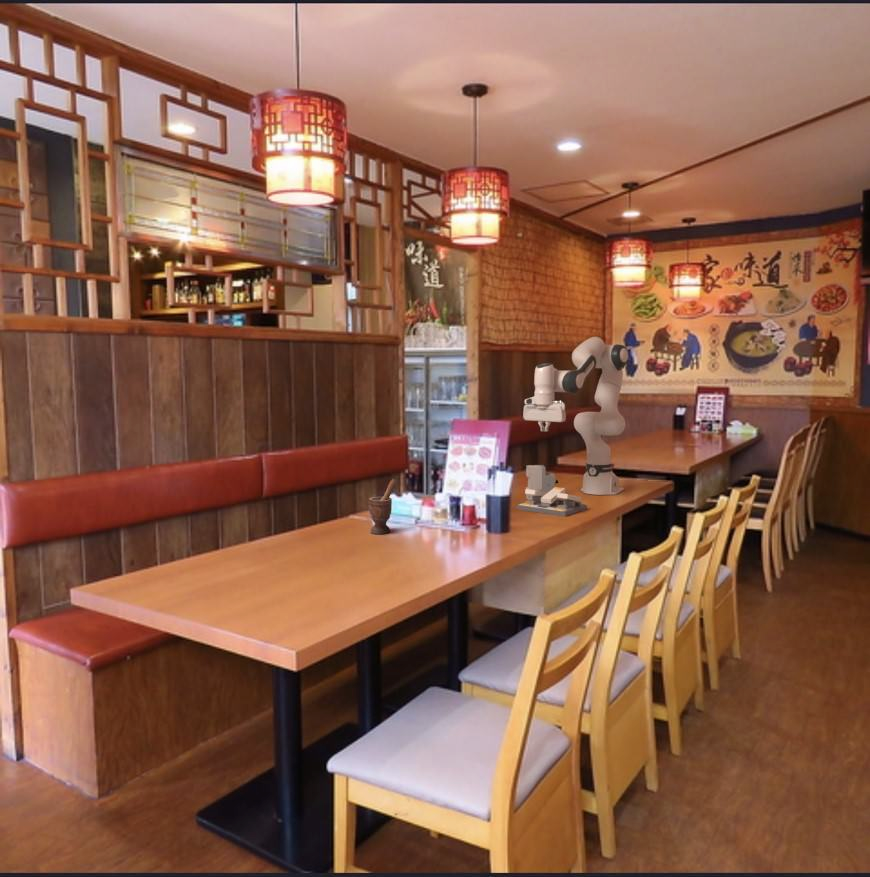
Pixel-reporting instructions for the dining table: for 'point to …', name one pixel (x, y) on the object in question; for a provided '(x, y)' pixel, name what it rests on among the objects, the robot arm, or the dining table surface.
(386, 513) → the mortar and pestle
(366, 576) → the dining table surface
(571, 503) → the switch unit
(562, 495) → the block
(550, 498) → the rocker
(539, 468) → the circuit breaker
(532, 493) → the block
